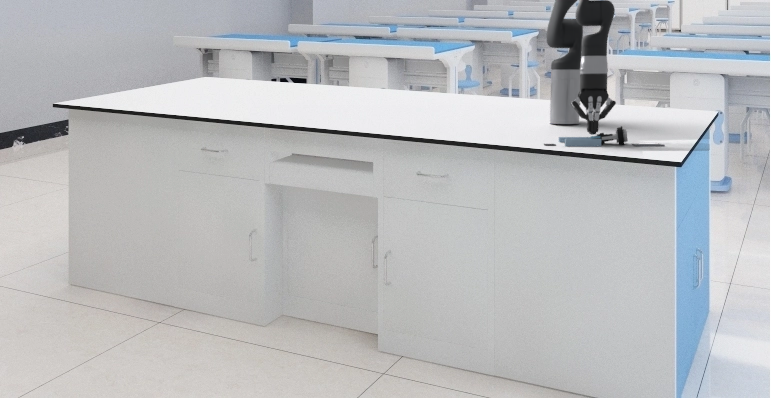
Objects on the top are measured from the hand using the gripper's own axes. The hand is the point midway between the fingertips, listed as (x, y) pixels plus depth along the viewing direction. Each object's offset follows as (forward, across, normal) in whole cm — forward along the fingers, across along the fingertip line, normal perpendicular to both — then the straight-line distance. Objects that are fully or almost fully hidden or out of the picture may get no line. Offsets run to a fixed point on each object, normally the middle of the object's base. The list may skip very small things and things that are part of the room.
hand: (592, 133), depth 264 cm
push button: (+2, +1, 0) cm, 2 cm away
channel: (+3, +4, 0) cm, 5 cm away
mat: (+3, -15, +2) cm, 15 cm away
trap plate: (+3, +12, -1) cm, 13 cm away
